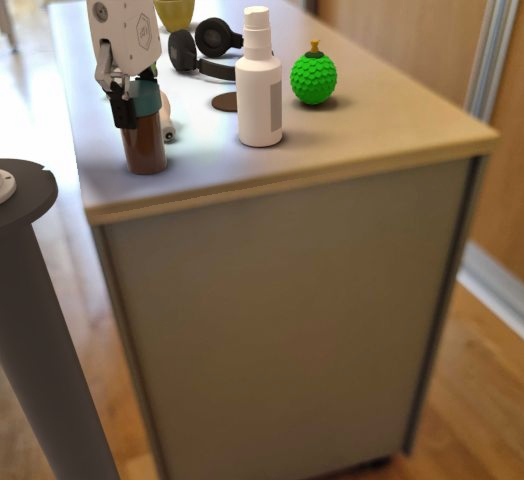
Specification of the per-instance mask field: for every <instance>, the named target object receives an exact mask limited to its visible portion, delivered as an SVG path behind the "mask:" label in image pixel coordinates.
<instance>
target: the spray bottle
mask: <svg viewBox="0 0 524 480" xmlns="http://www.w3.org/2000/svg"><path fill="white" fill-rule="evenodd" d="M243 9H244V10H243V14H244V15H243V18H244V22H243V28H242V29H243V38H244V44H243V45H244V47H243V56H242V57H240V58H239V59H238V60H236V62H234V63H235V64H234V66H235V75H236V81H235V92H237V110H238V112H237V123H238V124H237V125H238V126H237V127H238V140H239V141H240V142H241V143H242V144H244V145H246V146H250V147H256V148H259V147H260V148H262V147H263V148H264V147H269V146H272V145H275V144H277V143H279V142H280V141H281V139H282V138H283V92H282V91H283V81H282V80H283V78H282V77H283V75H282V74H283V72H282V71H283V70H282V68H283V66H282V61H281V60H280V59H279V58H277V57H276V56H275V55H274V56H273V55H272V51H273V43H272V26H271V22H270V8H269V7H267V6H265V5H264V6H263V5H253V6H248V7H245V8H243Z"/></svg>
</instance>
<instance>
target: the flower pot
mask: <svg viewBox="0 0 524 480" xmlns="http://www.w3.org/2000/svg"><path fill="white" fill-rule="evenodd" d="M153 3H154V8H155V13H156V15H157V16H158V18H159V20H160V22H161V24H162V25H163V27H164V28H165V30H167V32H169V33H172V32H174V31H179V30H181V29H183V30H187V31H189V28H190V26H191V23H192V20H193V18H194V17H193V16H194V12H195V7H196V6H195V5H196V0H153Z"/></svg>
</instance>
